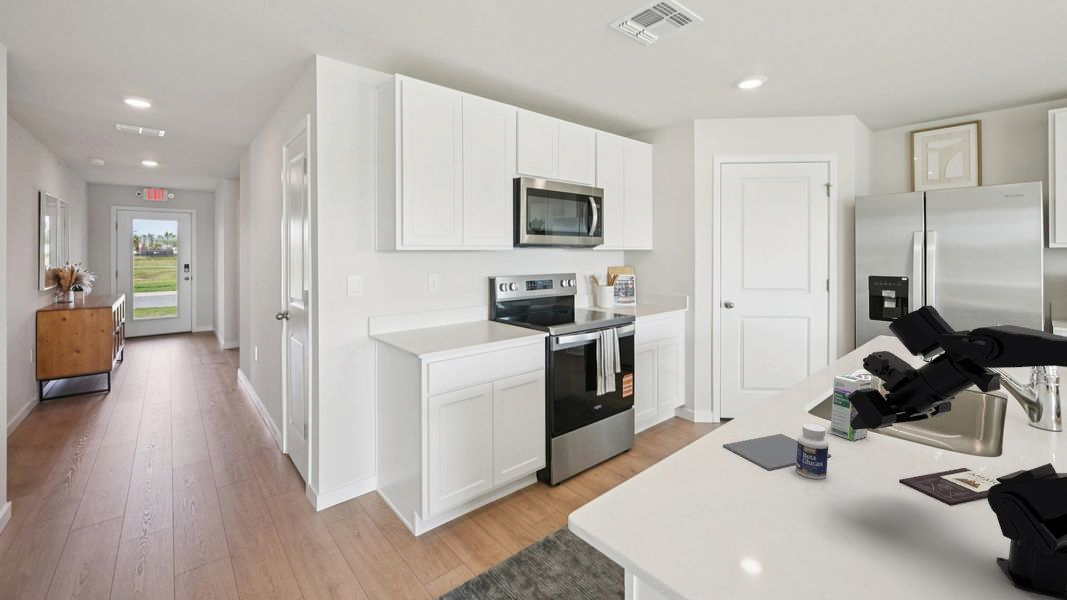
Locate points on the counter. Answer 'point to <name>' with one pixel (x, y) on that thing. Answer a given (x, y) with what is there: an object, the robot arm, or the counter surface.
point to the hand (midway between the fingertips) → (862, 424)
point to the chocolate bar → (952, 485)
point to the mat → (768, 451)
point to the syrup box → (846, 406)
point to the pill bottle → (812, 452)
